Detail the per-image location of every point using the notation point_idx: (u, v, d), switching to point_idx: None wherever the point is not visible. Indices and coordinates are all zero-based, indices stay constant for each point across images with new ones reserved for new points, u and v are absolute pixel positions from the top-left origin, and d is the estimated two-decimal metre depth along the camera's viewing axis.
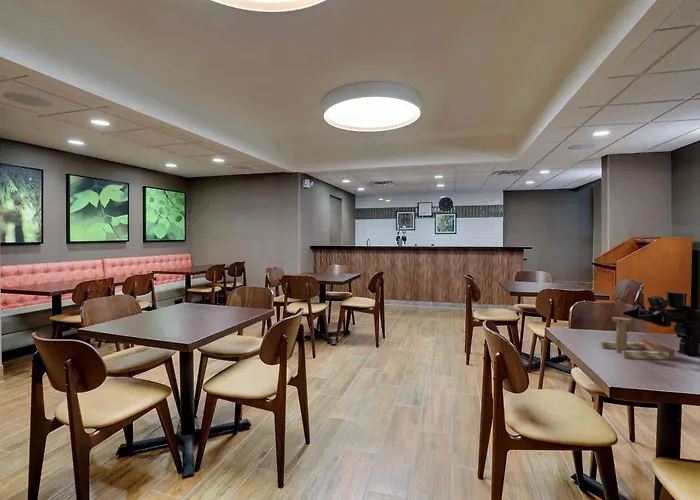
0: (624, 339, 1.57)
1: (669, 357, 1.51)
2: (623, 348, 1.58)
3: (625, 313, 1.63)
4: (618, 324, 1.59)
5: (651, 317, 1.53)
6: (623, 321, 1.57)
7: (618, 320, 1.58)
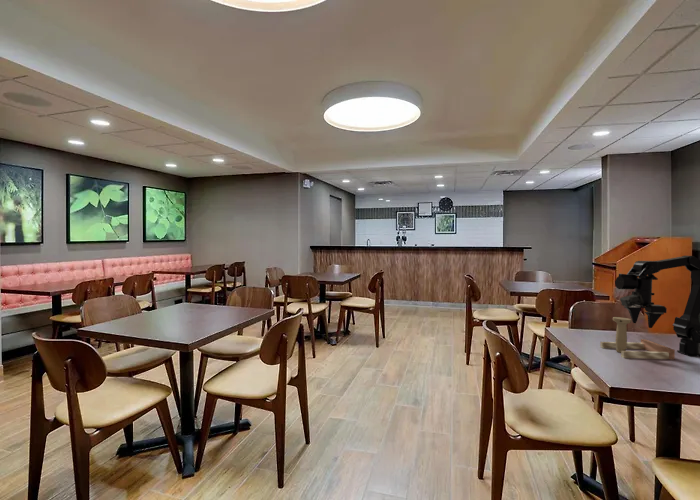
0: (624, 339, 1.57)
1: (669, 357, 1.51)
2: (623, 348, 1.58)
3: (635, 321, 1.63)
4: (618, 324, 1.59)
5: (652, 318, 1.53)
6: (623, 321, 1.57)
7: (618, 320, 1.58)
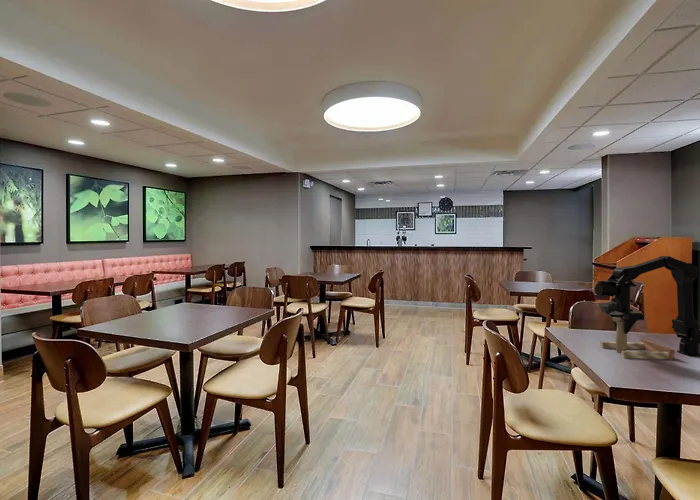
0: (624, 339, 1.57)
1: (669, 357, 1.51)
2: (623, 348, 1.58)
3: None
4: (618, 324, 1.59)
5: (627, 324, 1.55)
6: None
7: (618, 320, 1.58)
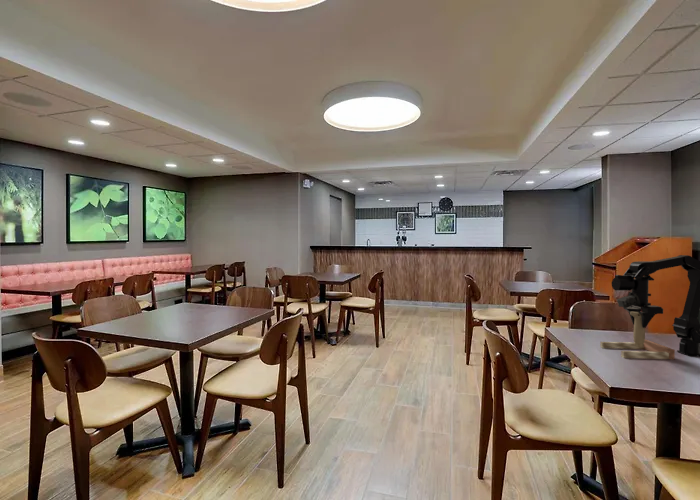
0: (642, 333, 1.57)
1: (669, 357, 1.51)
2: (641, 342, 1.57)
3: None
4: (636, 318, 1.58)
5: (645, 318, 1.55)
6: None
7: (636, 314, 1.57)
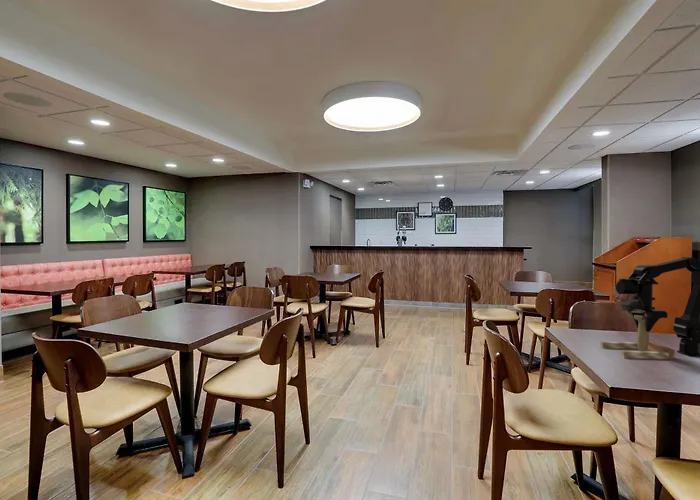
0: (646, 337, 1.57)
1: (669, 357, 1.51)
2: (645, 346, 1.57)
3: None
4: (640, 322, 1.58)
5: (649, 321, 1.55)
6: None
7: (640, 318, 1.57)
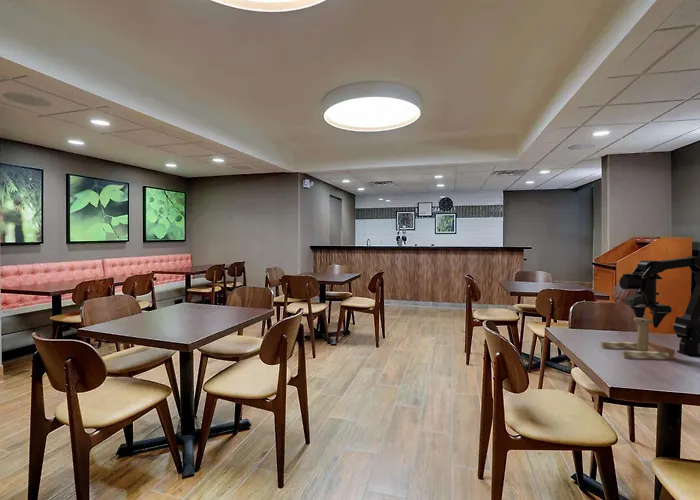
0: (646, 339, 1.57)
1: (669, 357, 1.51)
2: (645, 348, 1.57)
3: None
4: (640, 324, 1.58)
5: (657, 317, 1.53)
6: (645, 321, 1.56)
7: (640, 320, 1.57)
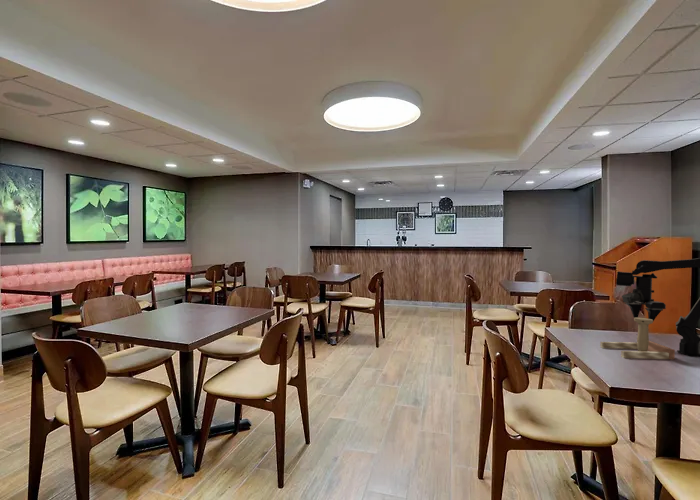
0: (646, 339, 1.57)
1: (669, 357, 1.51)
2: (645, 349, 1.57)
3: None
4: (640, 324, 1.58)
5: (652, 314, 1.62)
6: (645, 321, 1.56)
7: (640, 320, 1.57)
